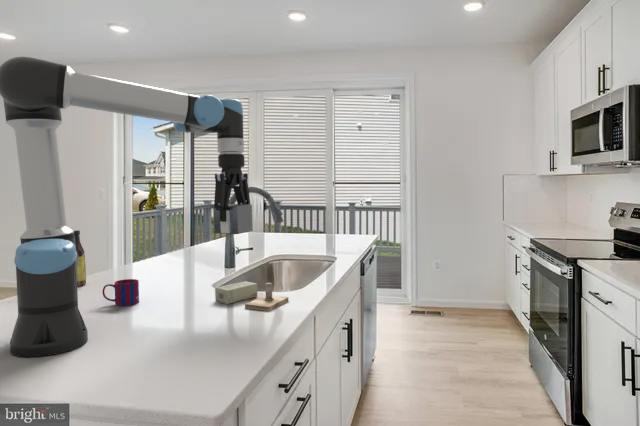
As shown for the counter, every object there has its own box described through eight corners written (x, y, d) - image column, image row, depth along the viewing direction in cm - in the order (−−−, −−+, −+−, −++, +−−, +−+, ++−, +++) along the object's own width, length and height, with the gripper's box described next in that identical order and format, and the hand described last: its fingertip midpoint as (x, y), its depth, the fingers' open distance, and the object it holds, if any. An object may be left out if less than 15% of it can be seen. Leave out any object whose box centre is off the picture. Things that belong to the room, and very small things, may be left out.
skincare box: (227, 304, 137) (258, 296, 147) (226, 290, 137) (258, 283, 146) (214, 301, 142) (245, 293, 151) (214, 287, 141) (245, 280, 151)
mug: (137, 305, 137) (137, 282, 137) (101, 308, 135) (100, 285, 134) (140, 299, 144) (139, 278, 143) (105, 302, 141) (104, 280, 141)
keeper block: (268, 311, 130) (268, 289, 130) (244, 308, 133) (244, 287, 133) (288, 301, 141) (288, 281, 141) (265, 298, 144) (265, 279, 144)
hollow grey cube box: (237, 234, 130) (237, 206, 130) (214, 233, 133) (213, 205, 133) (252, 230, 138) (251, 204, 137) (230, 230, 141) (229, 204, 140)
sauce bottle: (90, 284, 166) (87, 230, 164) (72, 288, 160) (70, 231, 159) (79, 282, 169) (77, 229, 168) (62, 285, 164) (60, 230, 162)
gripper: (221, 151, 123) (224, 236, 124) (260, 154, 142) (262, 227, 144) (198, 152, 126) (201, 235, 127) (239, 155, 145) (242, 227, 146)
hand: (234, 231), depth 135 cm, fingers closed on hollow grey cube box, 8 cm apart
